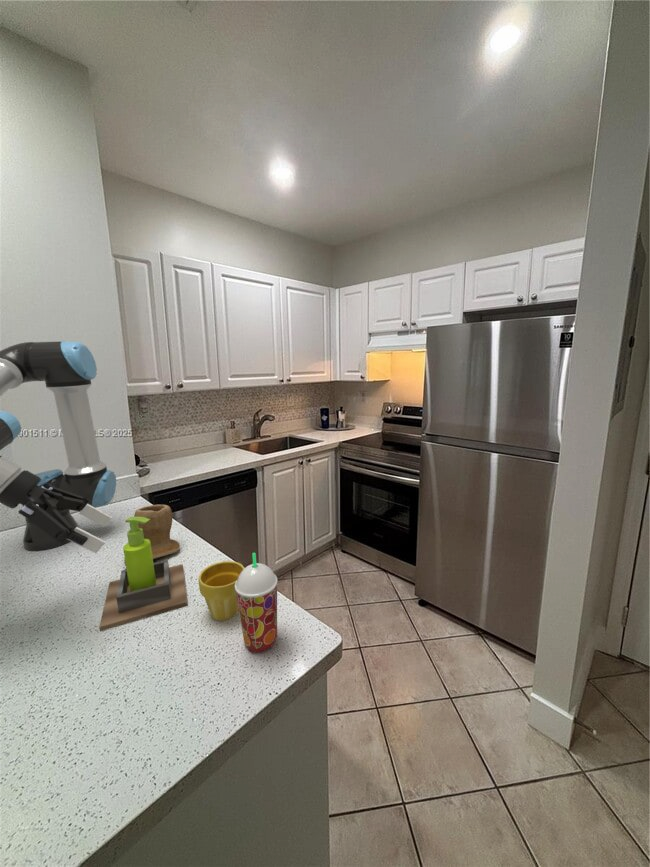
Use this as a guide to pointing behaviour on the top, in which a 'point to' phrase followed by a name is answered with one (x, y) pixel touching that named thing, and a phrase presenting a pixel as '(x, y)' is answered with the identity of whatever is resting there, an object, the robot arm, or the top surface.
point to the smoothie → (257, 605)
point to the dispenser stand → (144, 596)
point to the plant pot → (220, 588)
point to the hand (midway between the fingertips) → (105, 534)
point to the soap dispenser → (138, 556)
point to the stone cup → (158, 529)
